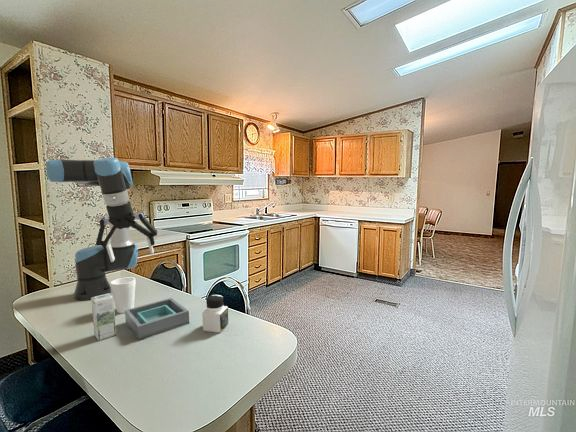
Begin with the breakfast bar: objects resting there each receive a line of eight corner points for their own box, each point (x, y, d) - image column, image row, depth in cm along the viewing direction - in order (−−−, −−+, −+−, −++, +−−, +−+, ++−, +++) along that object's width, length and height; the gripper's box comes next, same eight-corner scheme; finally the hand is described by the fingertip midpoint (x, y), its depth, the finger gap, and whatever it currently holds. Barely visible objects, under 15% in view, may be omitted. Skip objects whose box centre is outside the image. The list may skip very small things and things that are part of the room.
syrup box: (112, 329, 111) (108, 292, 110) (116, 335, 107) (113, 296, 105) (94, 335, 107) (90, 296, 106) (98, 341, 103) (94, 301, 101)
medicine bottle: (221, 333, 108) (219, 301, 106) (202, 331, 109) (201, 299, 108) (228, 323, 115) (227, 293, 113) (211, 322, 116) (210, 292, 115)
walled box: (125, 322, 117) (124, 310, 116) (171, 308, 129) (171, 297, 128) (139, 340, 104) (138, 326, 103) (189, 323, 115) (188, 311, 115)
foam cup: (115, 316, 122) (112, 286, 120) (110, 309, 129) (108, 280, 127) (140, 310, 128) (138, 280, 127) (134, 303, 135) (132, 275, 134)
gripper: (73, 212, 98) (92, 268, 105) (154, 200, 104) (167, 254, 112) (80, 205, 104) (98, 258, 112) (156, 195, 111) (168, 246, 119)
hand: (133, 256), depth 112 cm, fingers open, 13 cm apart
